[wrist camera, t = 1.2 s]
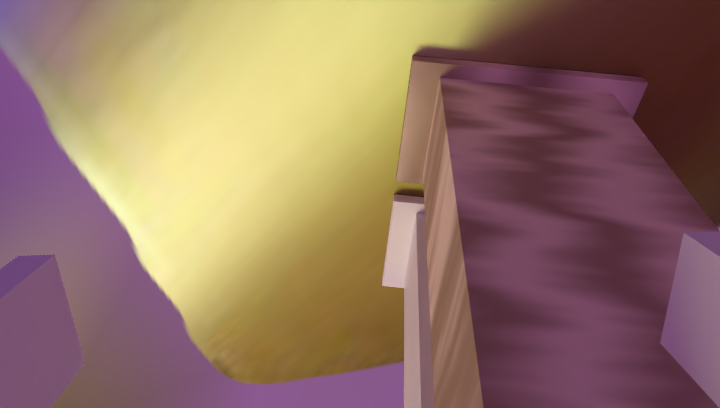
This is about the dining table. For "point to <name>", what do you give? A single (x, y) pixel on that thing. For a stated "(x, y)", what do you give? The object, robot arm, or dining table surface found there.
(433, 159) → the birch stand
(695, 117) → the dining table surface
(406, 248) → the grey stand
